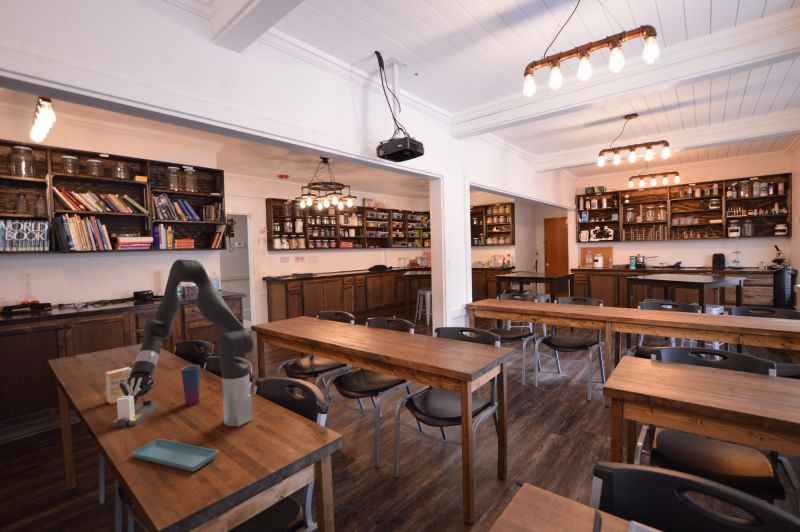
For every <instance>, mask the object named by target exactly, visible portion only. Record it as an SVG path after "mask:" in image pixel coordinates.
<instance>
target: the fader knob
mask: <svg viewBox="0 0 800 532" xmlns="http://www.w3.org/2000/svg"><path fill="white" fill-rule="evenodd" d="M116 405H117V407H116V408H117V417H118V419H127V420H131V419H132V418H134V417H135V410H134V396H122V397H120V398H119V399H117V403H116Z"/></svg>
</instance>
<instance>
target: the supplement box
mask: <svg viewBox="0 0 800 532" xmlns="http://www.w3.org/2000/svg"><path fill="white" fill-rule="evenodd" d="M131 370H132V367H129V366H128V367H123V368H117V369H113V370H109V371H105V387H106V401H107V403H108V404H110V405H113V404H117V399H119V398H120V397H122V396H125V395H124V393H123V391H122V390H121V388H120V386H119V384H120V383H124V382H126V381H127V379H128V378H129V377H130V374H131ZM129 388H130V386H129V384H128V388H127V390H128V391H129Z"/></svg>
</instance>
